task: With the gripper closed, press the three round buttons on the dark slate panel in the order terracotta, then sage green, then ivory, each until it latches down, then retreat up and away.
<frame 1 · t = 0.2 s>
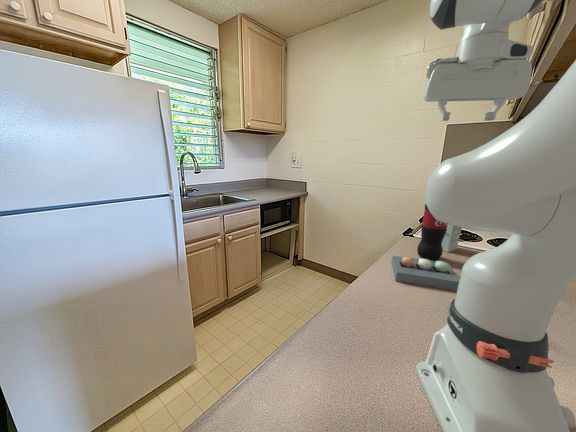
hand: (466, 120, 59), 47 cm above the worktop, fingers open, 8 cm apart
terracotta button: (407, 261, 82), point 4 cm above the worktop, slide at 0.0 cm
cola bottle: (428, 257, 96), on the worktop
supplement box: (443, 248, 107), on the worktop
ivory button: (424, 263, 80), point 4 cm above the worktop, slide at 0.0 cm
panel: (422, 275, 81), on the worktop
sage button: (441, 266, 79), point 4 cm above the worktop, slide at 0.0 cm
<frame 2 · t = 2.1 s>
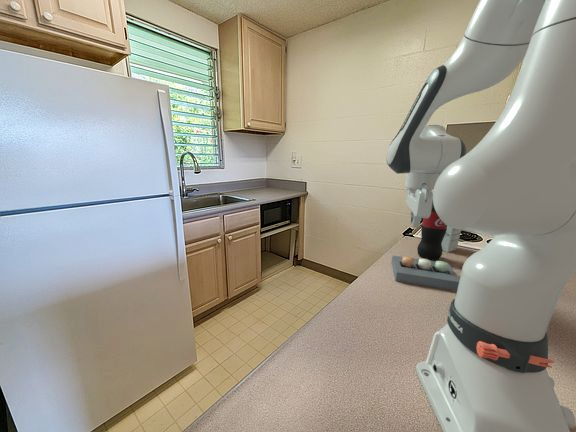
hand: (414, 225, 78), 17 cm above the worktop, fingers open, 3 cm apart
nothing on the worktop moved.
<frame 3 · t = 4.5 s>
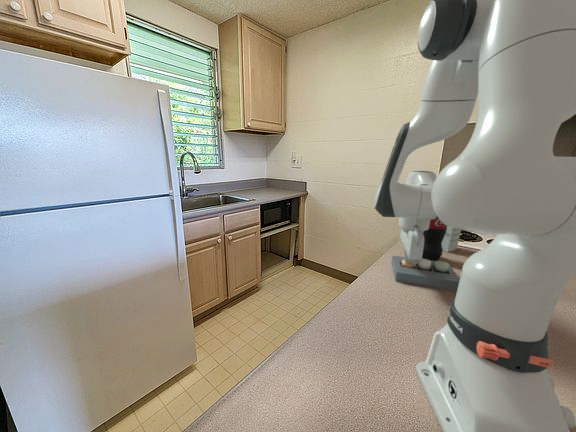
hand: (407, 261, 82), 4 cm above the worktop, fingers closed, pressing on terracotta button
terracotta button: (407, 264, 82), point 3 cm above the worktop, slide at 1.2 cm, touching gripper
everything else where it was.
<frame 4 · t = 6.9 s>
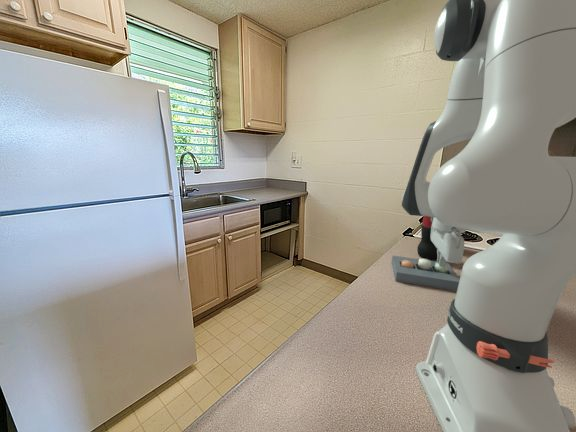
hand: (440, 264, 79), 5 cm above the worktop, fingers closed, pressing on sage button
terracotta button: (407, 265, 82), point 3 cm above the worktop, slide at 1.4 cm
sage button: (441, 267, 79), point 4 cm above the worktop, slide at 0.6 cm, touching gripper
everything else where it was.
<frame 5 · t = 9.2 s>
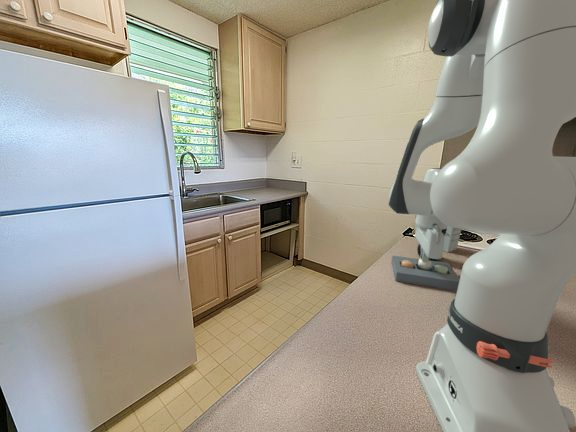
hand: (423, 260, 80), 5 cm above the worktop, fingers closed, pressing on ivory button
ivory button: (424, 264, 80), point 4 cm above the worktop, slide at 0.1 cm, touching gripper
sage button: (440, 270, 79), point 3 cm above the worktop, slide at 1.4 cm
everything else where it was.
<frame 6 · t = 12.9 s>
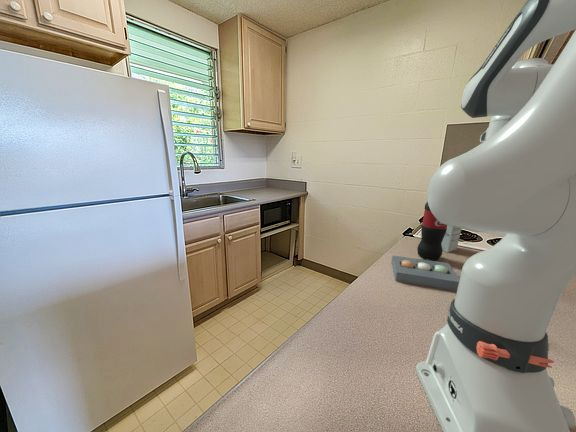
hand: (495, 187, 66), 31 cm above the worktop, fingers closed
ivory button: (423, 267, 80), point 3 cm above the worktop, slide at 1.4 cm
everything else where it was.
at the end: terracotta button slide at 1.4 cm; sage button slide at 1.4 cm; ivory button slide at 1.4 cm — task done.
